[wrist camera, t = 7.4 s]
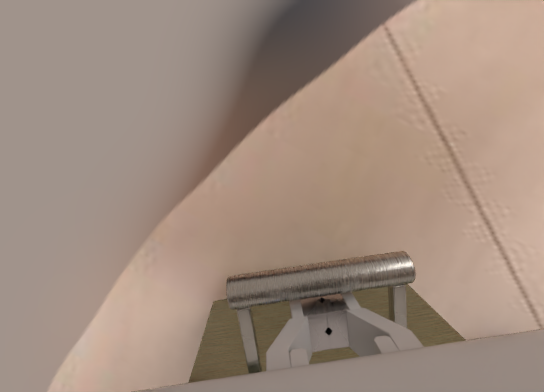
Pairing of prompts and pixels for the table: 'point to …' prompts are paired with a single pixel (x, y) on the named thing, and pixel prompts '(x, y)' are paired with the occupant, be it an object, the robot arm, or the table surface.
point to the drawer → (301, 285)
